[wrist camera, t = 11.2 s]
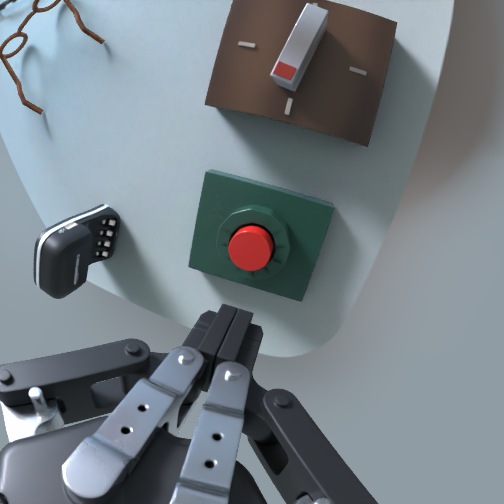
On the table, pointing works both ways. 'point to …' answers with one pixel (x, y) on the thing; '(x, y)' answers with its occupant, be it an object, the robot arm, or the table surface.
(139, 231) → the table surface
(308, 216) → the button box
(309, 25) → the tap handle
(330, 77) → the block
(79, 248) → the battery charger
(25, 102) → the glasses
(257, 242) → the button
